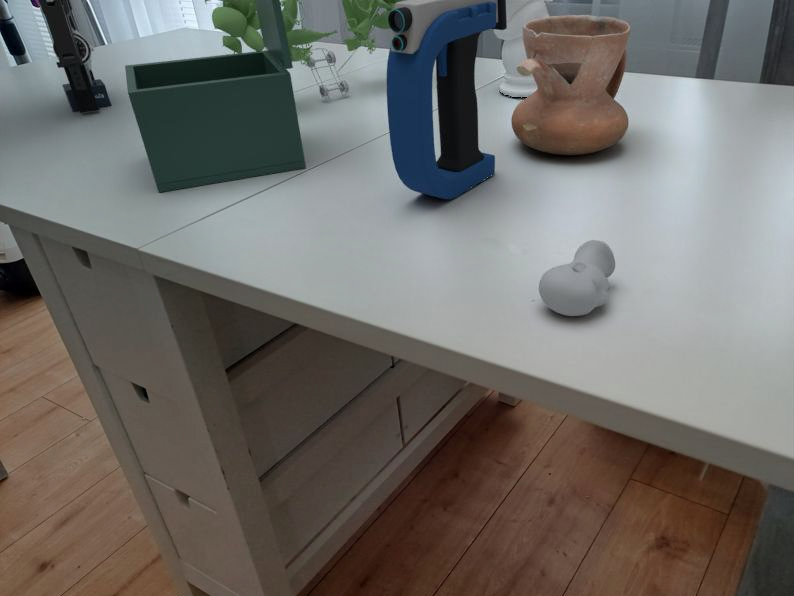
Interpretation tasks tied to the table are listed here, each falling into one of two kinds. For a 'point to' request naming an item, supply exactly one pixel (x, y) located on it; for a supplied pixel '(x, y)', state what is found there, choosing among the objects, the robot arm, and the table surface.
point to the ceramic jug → (573, 84)
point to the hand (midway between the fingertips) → (90, 103)
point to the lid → (274, 30)
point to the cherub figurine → (518, 45)
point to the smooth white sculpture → (579, 280)
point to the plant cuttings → (301, 30)
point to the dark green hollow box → (215, 118)
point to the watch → (97, 85)
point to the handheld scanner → (438, 92)
